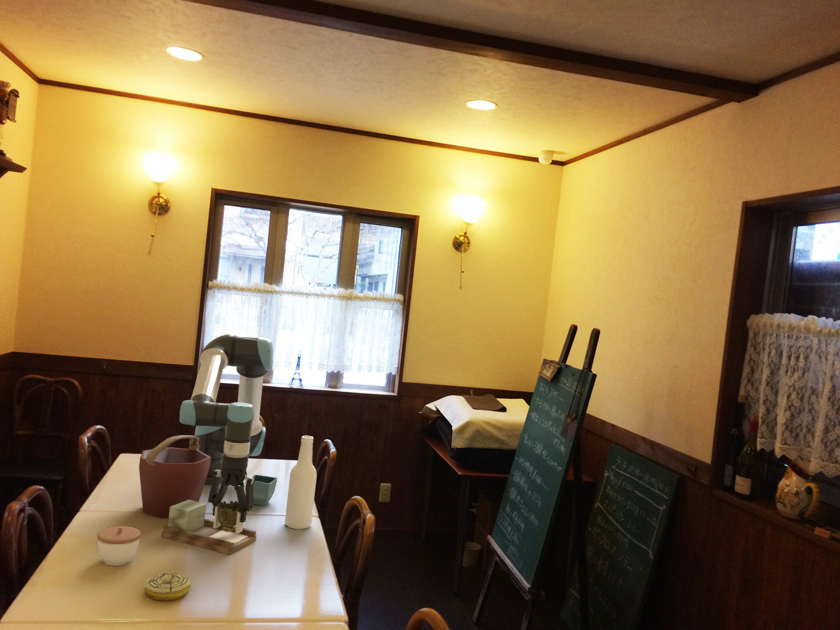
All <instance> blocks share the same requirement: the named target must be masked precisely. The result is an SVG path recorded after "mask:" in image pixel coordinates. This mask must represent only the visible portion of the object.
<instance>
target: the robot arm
mask: <svg viewBox="0 0 840 630" xmlns="http://www.w3.org/2000/svg"><path fill="white" fill-rule="evenodd" d="M273 356H274V347H273V341H272V340H271V338H268V337H262V336H258V337H257V336H249V335H241V334H234V333H233V334H231V333H227V334H223V335H220V336H217V337H215V338H213V339H211V341H209V342H208V343H207V344H206V345H205V346H204V348H203V349H202V350H201V353H200V357H199V363H200V367H199V371H198V373H197V377H196V380H195V384H194V388H193V392H192V394H191V398H190V399H188V400H187V399H185V400H183V401H182V403H181V405H180V410H179V422H180V424H183V425H186V426H187V425H189V426H192V427H194V426H195V430H194V431H195V432H194V435H193V436H195V437H199V441H198V444H199V451H201V452H203V453H205V454H206V455H208V456H210V457H211V463H210V468H209V471H208V474H207V477H206V480H205V484H204V485H210V489H209V494H208V498H207V502H208V503H210V504H212V507H213V508H212V517H214V518H213V521H214V525H213V528H217V527H219V526H221V524H220V523H219V520H218V503H219V504H220V502H223V499H224V497H225V495H226V492H227V491H228V488H229V487H230V486H232V487H234V488H233V489H234V490H235V492H236V496H237V502H238V503H239V508H240V511H238V512H237V521H236V525H235V526H236V530H235V534H238V533H240V532H242V530H243V528H244V523H246V521H247V512H250V511H252V510H253V509H254V504H253V485H254V482H255V477H252V476H249V475H248V473H247V469H248V465H249V457H256V456H257V457H258V456H259V455H260V454H261V453H262V450H263V447H264V441H265V437H266V427H265V426H263V423H262V421H261V420H260V412H261V405H262V404H261V403H262V393H263V382H264V377H265V376H267V374H268V372H269V371H271V370H272V369H273V365H274V364H273V363H274V357H273ZM226 367H234V368H235V370H236V372H237V374H239V381H238V382H239V383H238V395H237V396H238V397H237V402H231V403H225V402H224V403H223V402H216V401H217V398H218V397H217V396H218V394H219V392H218V391H219V389H220V384H221V379H222V376H223V375H222V374H223V371H224V369H226ZM244 481H245V482H244ZM219 486H220V487H219Z"/></svg>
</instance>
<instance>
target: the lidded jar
mask: <svg viewBox="0 0 840 630" xmlns="http://www.w3.org/2000/svg"><path fill="white" fill-rule="evenodd" d="M141 535H142V532H141V531H140V529H138V528H135V527H132V526H123V525H120V526H119V525H118V526H117V525H116V526H110V527H106V528H103V529H102V530H100V531H98V532H97V543H96V546H97V547H96V548H97V553H98V556H99V558H100V559H101V560H102V561H103V563H104V564H105V565H107V566H114V567H115V566H123V565H126V564H128V563H129V562H130V560H131V559H132V558H133V557H134V556H136V553H137V552H138V548H139V545H140V539H141Z"/></svg>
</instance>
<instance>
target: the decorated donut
mask: <svg viewBox="0 0 840 630" xmlns="http://www.w3.org/2000/svg"><path fill="white" fill-rule="evenodd" d="M191 582H192V580H191V579H190V577H188V576H187V575H185V574H180V573H176V572H175V573H174V572H166V573H165V572H164V573H161V574H156V575H153V576H151V577H149V578H147V579H146V581H145V582H144V584H143V589H144V593H145V594H146V595H147V596H148V597H150V598H151V599H153V600H156V601H169V602H170V601H176V600H179V599H182V598H183V597H185V595H186V594H188V593H189V591H190V589H191Z"/></svg>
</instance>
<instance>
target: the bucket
mask: <svg viewBox="0 0 840 630" xmlns="http://www.w3.org/2000/svg"><path fill="white" fill-rule="evenodd" d="M184 439H189V441H188V444H189V445H188V448H182V447H181V448H180V447H170V445H172V444H173V443H175V442H176V441H180V440H184ZM198 441H199V437H195V435H186V434H185V435H184V434H183V435H182V434H181V435H174V436H171V437H168V438H166V439H164V440H162V442H161V443H159V444H158V445H156V446H155V447H154V448H152V449H145V450H144V449H143V450H142V452H141V455H140V457H139V464H138V472H139V481H140V484H139V485H140V494H141V503H142V513H145V514H144V515H147V514H148V516H150V515H151V516H150V517H154V518H157V517H158V519H169V512H170V507H171V506H174V505H176V504H179V503H182V502H184V501H187V500H192V501H197V502H200V499H201V496H202V493H203V489H204V486H205V485H206V484H205V480H206V477H207V474H208V471H209V468H210V463H211V457H210V456H208V455H206V454H205V453H203V452H201V451H199V444H198Z"/></svg>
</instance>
